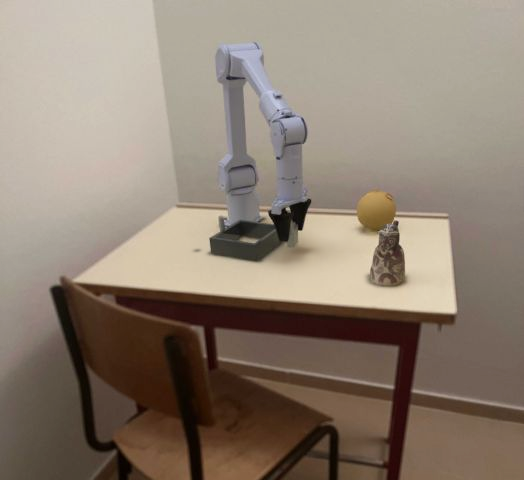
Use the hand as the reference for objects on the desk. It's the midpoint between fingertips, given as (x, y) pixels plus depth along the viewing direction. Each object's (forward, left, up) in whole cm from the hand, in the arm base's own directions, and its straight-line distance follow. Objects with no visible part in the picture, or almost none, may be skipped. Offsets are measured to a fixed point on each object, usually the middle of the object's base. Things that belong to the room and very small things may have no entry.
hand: (291, 235), depth 121 cm
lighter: (0, 0, -3) cm, 3 cm away
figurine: (+5, +25, -5) cm, 26 cm away
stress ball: (-23, +13, -5) cm, 27 cm away
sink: (0, -12, -5) cm, 13 cm away
